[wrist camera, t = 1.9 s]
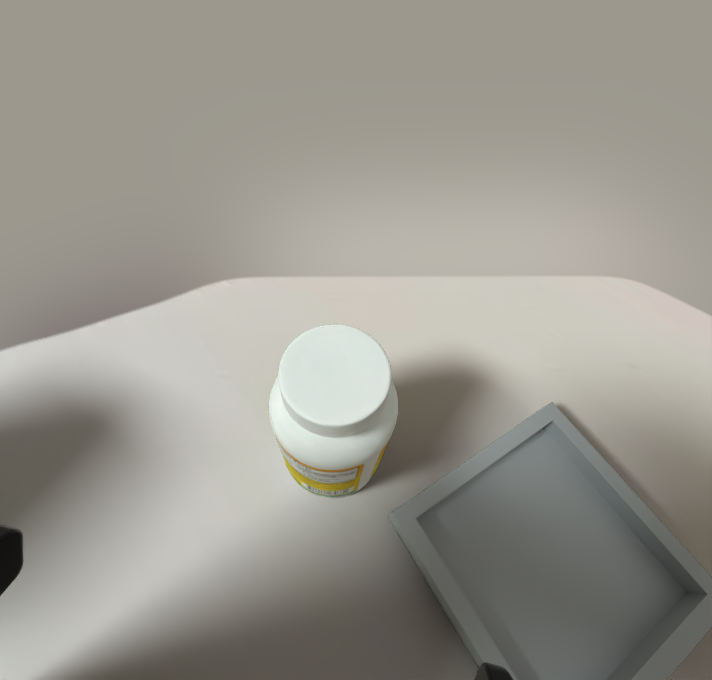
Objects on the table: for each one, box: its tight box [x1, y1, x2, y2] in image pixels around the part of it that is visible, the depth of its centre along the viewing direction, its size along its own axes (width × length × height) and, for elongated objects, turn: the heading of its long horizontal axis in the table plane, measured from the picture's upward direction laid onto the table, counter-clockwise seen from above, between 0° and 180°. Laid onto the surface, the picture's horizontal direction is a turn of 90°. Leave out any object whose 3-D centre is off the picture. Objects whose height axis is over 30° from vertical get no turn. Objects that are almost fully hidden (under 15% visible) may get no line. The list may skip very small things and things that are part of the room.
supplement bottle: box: [269, 324, 398, 498], centre depth 18 cm, size 5×5×10 cm
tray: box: [388, 402, 712, 680], centre depth 19 cm, size 11×11×2 cm
